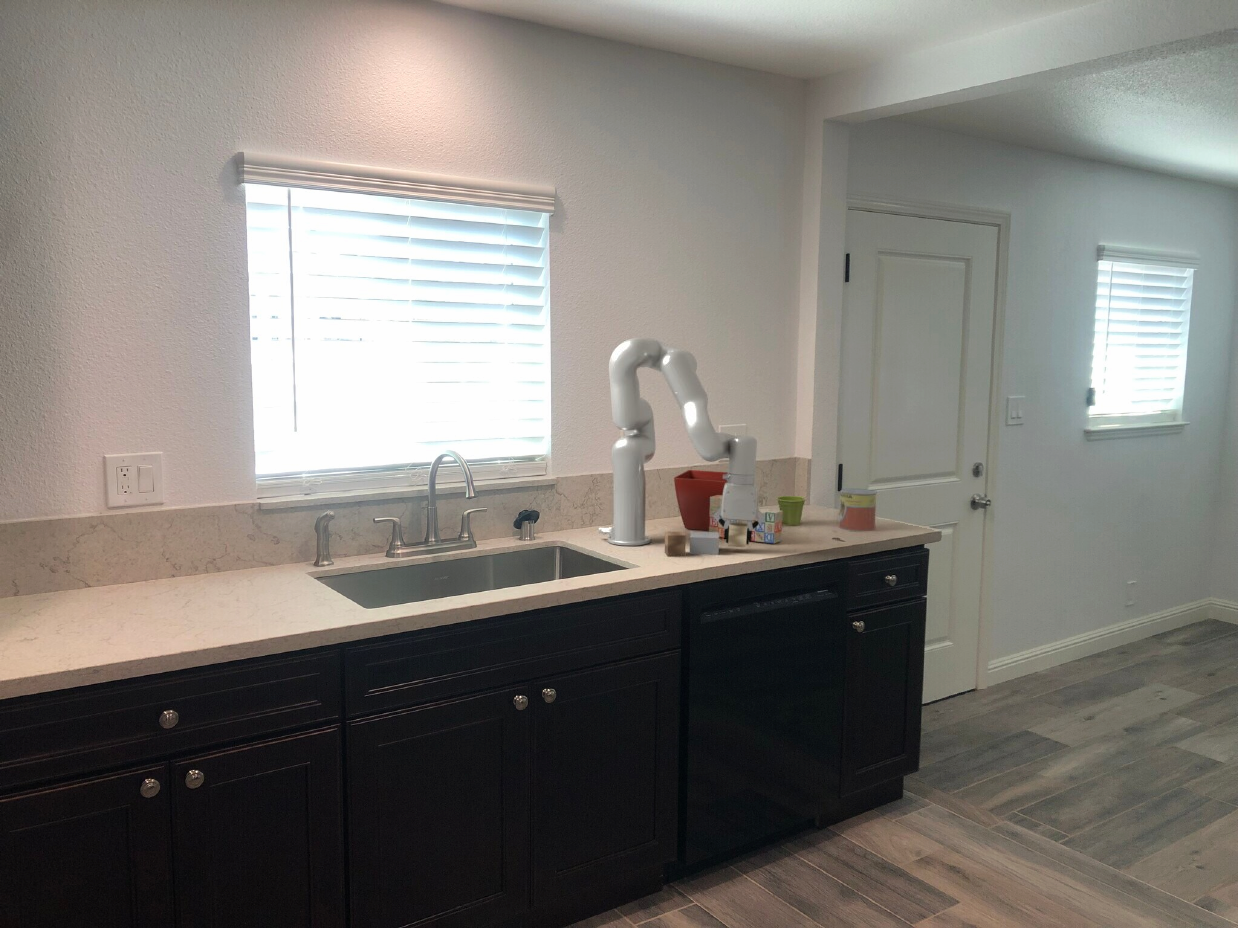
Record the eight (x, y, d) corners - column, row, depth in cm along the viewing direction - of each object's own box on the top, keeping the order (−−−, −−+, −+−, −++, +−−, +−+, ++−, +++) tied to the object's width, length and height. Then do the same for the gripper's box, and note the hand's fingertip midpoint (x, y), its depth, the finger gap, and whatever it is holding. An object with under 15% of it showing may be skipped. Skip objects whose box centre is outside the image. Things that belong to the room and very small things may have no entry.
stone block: (689, 554, 263) (690, 537, 262) (690, 548, 271) (690, 531, 270) (718, 555, 262) (718, 537, 262) (718, 549, 270) (718, 532, 270)
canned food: (834, 524, 307) (836, 488, 306) (868, 524, 308) (870, 488, 306) (844, 531, 296) (845, 494, 295) (879, 531, 297) (881, 494, 295)
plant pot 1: (731, 535, 289) (733, 481, 287) (671, 530, 295) (673, 477, 293) (743, 524, 307) (745, 473, 305) (687, 519, 313) (688, 469, 311)
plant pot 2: (792, 528, 301) (793, 501, 300) (770, 523, 308) (770, 497, 307) (811, 524, 306) (811, 498, 305) (788, 520, 314) (789, 495, 313)
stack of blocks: (781, 541, 281) (783, 500, 279) (773, 544, 275) (775, 502, 274) (717, 533, 292) (718, 494, 291) (708, 535, 286) (709, 495, 285)
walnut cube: (667, 556, 260) (667, 535, 259) (664, 552, 264) (665, 531, 264) (685, 556, 260) (685, 535, 259) (682, 552, 265) (682, 531, 264)
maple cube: (728, 546, 264) (729, 525, 264) (728, 542, 269) (730, 521, 268) (745, 547, 264) (747, 526, 263) (746, 543, 269) (747, 523, 268)
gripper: (710, 479, 261) (706, 543, 264) (771, 483, 259) (767, 547, 261) (711, 475, 269) (708, 537, 271) (771, 479, 266) (767, 542, 269)
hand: (737, 542), depth 266 cm, fingers closed on maple cube, 5 cm apart
